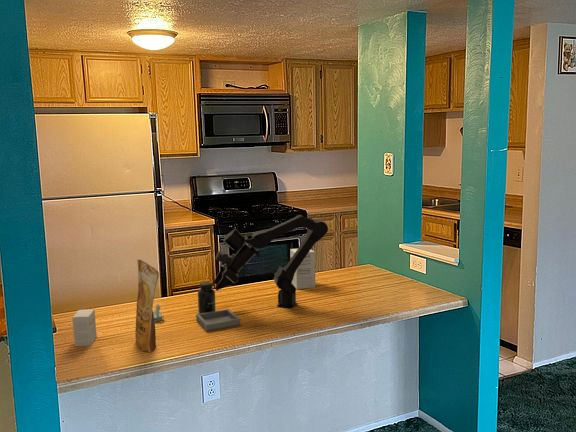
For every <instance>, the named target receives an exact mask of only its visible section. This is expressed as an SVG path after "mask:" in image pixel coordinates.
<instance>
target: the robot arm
mask: <svg viewBox="0 0 576 432" xmlns="http://www.w3.org/2000/svg"><path fill="white" fill-rule="evenodd" d="M300 227H303V228H306V229H307V234H306V236H305V238H304V239H303V241H302V242H301V244H300V245H299V246H298V247H297V248H296V249H297V251H296V252H295V254H294V255H293V257H292V258H291V259H289V261H288V262H287V264H285V266H283V267H282V266H278V269H277V270H276V272H274V277H273V282H274V283H275V285H276V287H277V288H278V289H280V290H278V293H277V305H276V307H280V308H287V309H293V308H294V307H295V306H297V305H298V303H299V302H297V297H296V296H297V294H296V290H297V289H296V288H295V286H294V285H293V284H292V283H291V282H292V280H293V277H294V274H295V271H296V270H297V268H298V267H299V266H300V264H301V263H302V261H303V260H304V258H305V257H306V255H307V254H308V253H309V251H310V250H312V248H313V246H314V245H315V244H316V243H317V242H319V241H320V240H322V238H324V237H325V235H326V234H327V233H328V232H329V231H328V230H329V226H328V225H327V223H326V222H324V221H323V220H321V219H311V218H309V217H305V216H303V215H301V214H297V215H296V216H295V217H293V218H290V219H288V220H286V221H284V222H281V223H280V224H277V225H276V226H273V227H271V228H267V229H262V230H258V231H254V232H253V233H252V234H249V235H243V234H242V233H241V232H239V230H238V229H236V228H234V229H232V230H231V231H230V232H228V233H227V234H226V236H225V237H224V238H223V242H224V243H225V244H226V245H227V246H229V248H230V249H231V250H233V251H237V252H236V253H232V254H231V255H230V254H228V253H226V252H222V251H220V250H217V253H216V255H215V261H217V262H219V263H220V264H219V272H218V273H217V274H216V277H215V278H214V280H213V282H212V284H214V285H216V286H215V288H214V291H219V290H222V289H224V288H227V287H229V286H232V285H234V284H235V285H236V284H237V283H238V282H239V281H240V276H239V274H240V271H241V270H242V269H243V268H245V267H246V266H247V263H248V262H249V261H250V260H251V259H252V258H253V257H254V256H256V257H258V258H260V257H261V256H260V252H261V250H260V249H262V248H263V249H264V248H265V247H266V246H268V245H269V244H270V243H272V241H273V240H275V239H276V238H278V237H280V236H283V235H285V234H287V233H289V232H291V231H294V230H296V229H298V228H300ZM256 248H257V249H256Z"/></svg>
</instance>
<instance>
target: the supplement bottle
mask: <svg viewBox="0 0 576 432" xmlns="http://www.w3.org/2000/svg"><path fill="white" fill-rule="evenodd" d="M197 310H198V314H201V313H207V312H213V311H217V310H216V290H215V289H213V282H210V281H203V282H200V283H199V290H198V291H197Z"/></svg>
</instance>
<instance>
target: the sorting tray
mask: <svg viewBox="0 0 576 432" xmlns="http://www.w3.org/2000/svg"><path fill="white" fill-rule="evenodd" d="M195 315H196V316H195V317H196V318H195V320H196V322H197V323H198V324H199V326H201V327H202V328H203V329H204V331H205V332H211V331H216V330H222V329H229V328H234V327H238V326H239V327H240V326H241V318H240V317H239V316H238V315H236V314H235V313H234V312H233V311H232V310H231V309H229V308H226V309H219V310H216V311H213V312H207V313H201V314H200V313H196V314H195Z"/></svg>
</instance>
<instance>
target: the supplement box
mask: <svg viewBox="0 0 576 432" xmlns="http://www.w3.org/2000/svg"><path fill="white" fill-rule="evenodd" d="M297 249H298V248H290V250H289V251H290V252H289V253H290V255H289V256H290V257H289V258H290V259H291V258H292V257H293V255H294V254H295V252H296V251H297ZM290 259H289V260H290ZM291 283H292V284H293V285H294V286H295V288H296V290H302V289H312V288H316V251H314V250H313V249H311V250H310V251H309V253H308V254H307V255H306V257H305V258H304V260H303V261H302V263H301V264H300V266H299V267H298V268H297V270H296V271H295V274H294V277H293V280H292V282H291Z"/></svg>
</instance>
